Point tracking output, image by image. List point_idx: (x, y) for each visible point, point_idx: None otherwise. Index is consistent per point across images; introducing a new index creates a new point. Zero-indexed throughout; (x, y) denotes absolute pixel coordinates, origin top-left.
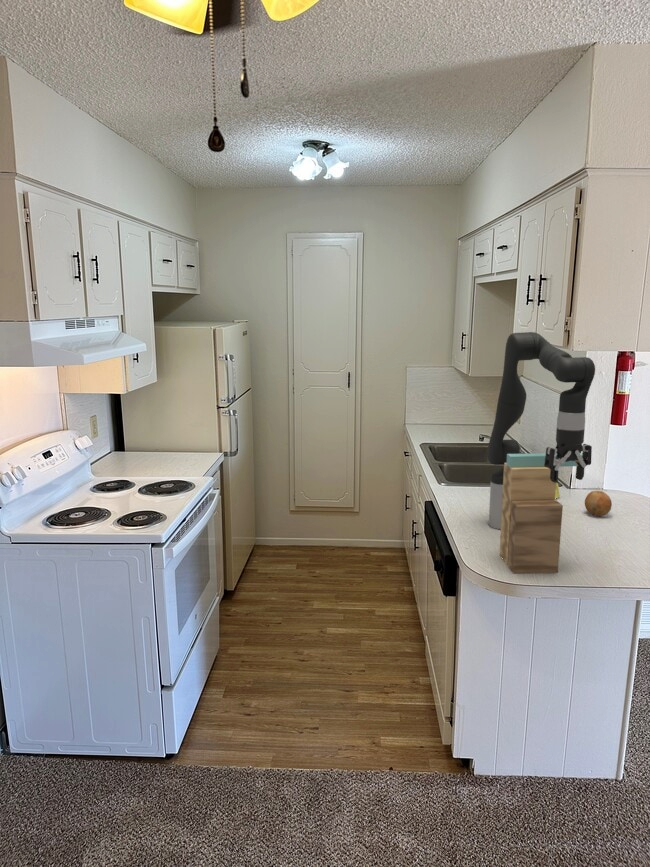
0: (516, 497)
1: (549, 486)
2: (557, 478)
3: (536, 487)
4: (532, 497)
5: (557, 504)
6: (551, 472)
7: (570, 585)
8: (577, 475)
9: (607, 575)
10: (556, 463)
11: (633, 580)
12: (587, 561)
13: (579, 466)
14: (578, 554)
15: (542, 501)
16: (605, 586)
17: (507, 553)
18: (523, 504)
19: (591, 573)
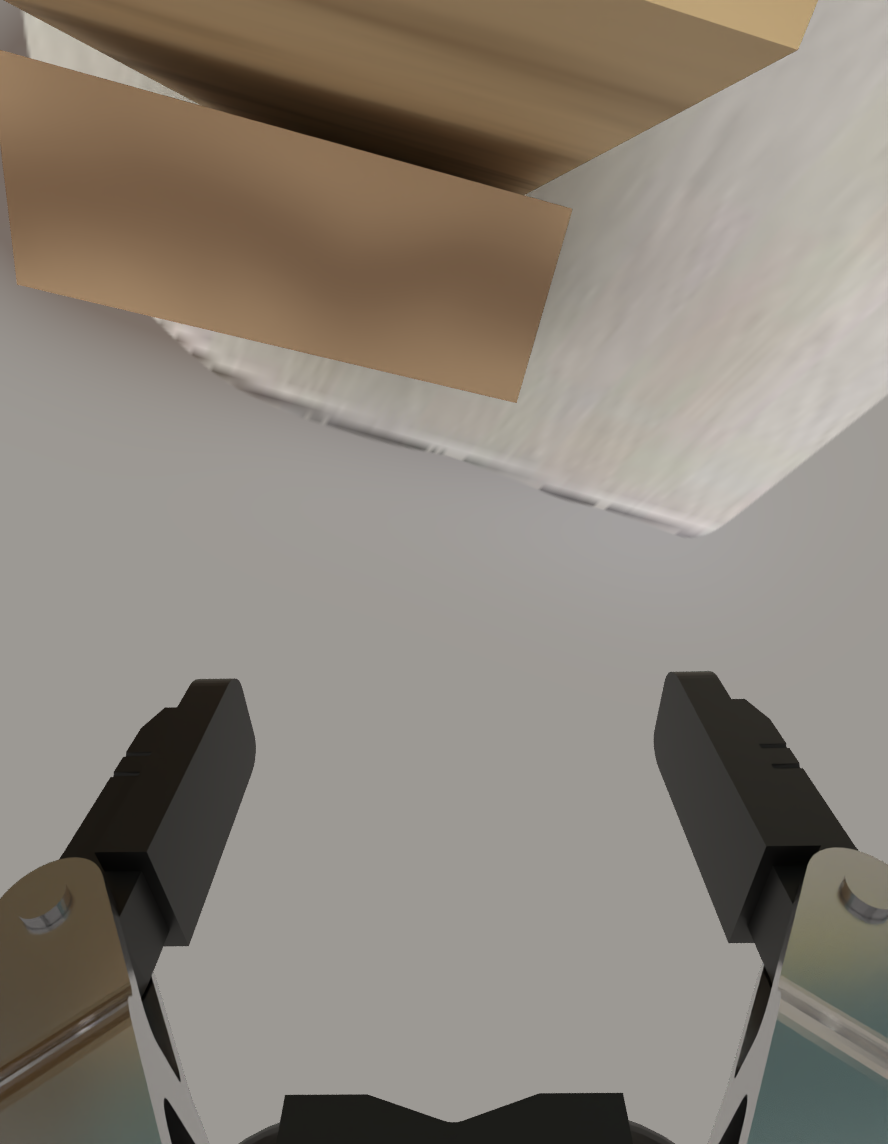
0: (44, 1)
1: (528, 106)
2: (228, 810)
3: (304, 41)
4: (286, 72)
5: (485, 359)
6: (99, 837)
7: (451, 449)
8: (680, 736)
9: (676, 410)
10: (139, 1010)
11: (734, 480)
12: (726, 230)
13: (768, 910)
14: (765, 110)
15: (383, 204)
16: (582, 494)
17: None
18: (110, 242)
19: (625, 371)
